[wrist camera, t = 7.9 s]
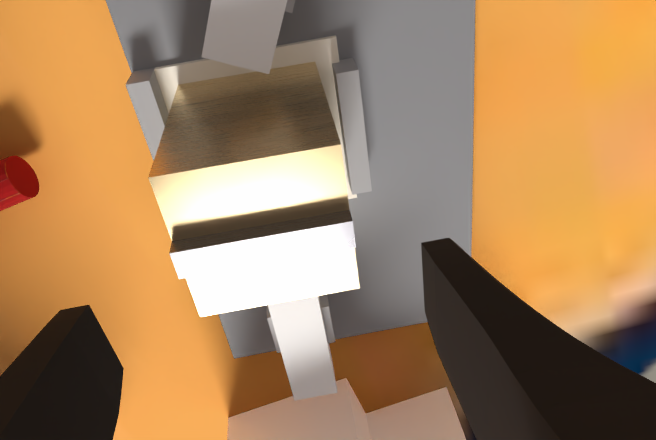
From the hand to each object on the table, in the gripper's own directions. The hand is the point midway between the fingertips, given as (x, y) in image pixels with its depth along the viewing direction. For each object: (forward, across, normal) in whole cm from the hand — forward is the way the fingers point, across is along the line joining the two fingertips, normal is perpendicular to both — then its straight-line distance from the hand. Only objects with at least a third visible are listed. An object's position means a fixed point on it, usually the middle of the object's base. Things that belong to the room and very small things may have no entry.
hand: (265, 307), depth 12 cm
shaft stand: (+9, -2, +1) cm, 10 cm away
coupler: (+8, 0, 0) cm, 8 cm away
